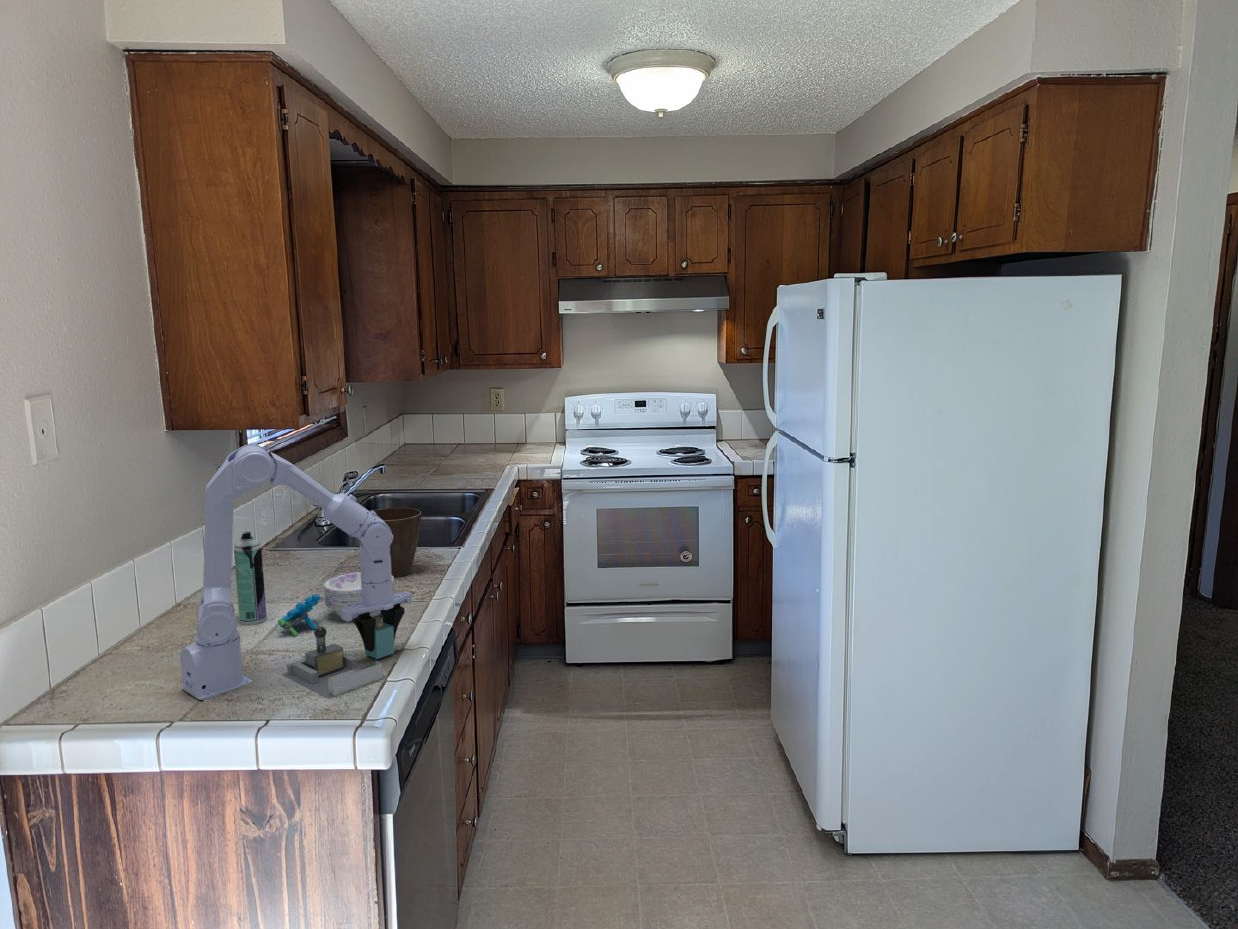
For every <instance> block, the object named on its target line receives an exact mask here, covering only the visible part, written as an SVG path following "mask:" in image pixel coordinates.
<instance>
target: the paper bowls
mask: <svg viewBox="0 0 1238 929" xmlns="http://www.w3.org/2000/svg"><path fill="white" fill-rule="evenodd" d="M323 588H324V589H323V592H324V593H323V594H324V595H323V596H324V605H325V606H326V607H327V608H328V609H330V610H334V612H335V613H336V616H338V617H340V618H341V619H342V613H341V610H342V609H345V608H348V607H350V606H352V605H354V604H356V603H358V602H360V601H362V592H361V571H358V572H349V573H345V574H341V575H336V576H334V577H331V578H329V579H328V580H326V581H325V582H324V584H323ZM392 594H396V582H395V577H393V576H392ZM380 615H381V612H380V611H377V612H374V613H370V616H371V617H372V618H375V617H377V616H380Z"/></svg>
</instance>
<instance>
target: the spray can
mask: <svg viewBox="0 0 1238 929" xmlns="http://www.w3.org/2000/svg"><path fill="white" fill-rule="evenodd" d="M262 552H263V550H262V544H261V541H260V540H257V539H256V538H255V537H254V536H253V535H252V533H251V531H244V532H242V534H241V537H240V538H239V540H237V542H235V543H234V544H233V556H234V569H235V570H234V571H235V579H236V582H235V583H236V593H237V594H236V595H237V605H238V606H237V607H238V615H239V616H238V619H239V623H240V624H241V625H243V626H254V625H259V624H262V623H265V622H267V604H266V603H267V602H266V592H265V577H264V563H263V553H262Z"/></svg>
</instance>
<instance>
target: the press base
mask: <svg viewBox="0 0 1238 929" xmlns="http://www.w3.org/2000/svg"><path fill="white" fill-rule="evenodd" d="M343 654H344V668H341V669H339V670H336V671H333V672H330V673H327V674H324V675H321V676H319V677H318V672H317V671H315V670H313V669H311V668H309V667H307V666H306V659H305V658H302V659H300V660H296V661H294V662H290V663H288V664H286V670H287V671H286V672H284V673H282V674H281V676H283V677H285V678H287V679H289V680H291V681H293V682H295V683H296V684H299V685H300V686H303V687H304V688H306V689H308V690H310V691H312V692H314V693H316V694H318V695H320V696H321V697H324V698H326V699H327V700H329V699H332V698H336V697H338V696H341V695H342V694H346V693H349V692H351V691H354V690H356V689H359V688H361V687H364V686H367V685H370V684H372V683H375V682H377V681H380V680H383V679H386V678H388V676H386V675H384V674H383V662H380V661H379V660H376V661H372V662H370V663H367V664H364V665H363V664H360V663H358V658H357V657H355V656H352V655H350V654H348V653H346V652H344V651H343Z"/></svg>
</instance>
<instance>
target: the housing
mask: <svg viewBox="0 0 1238 929" xmlns="http://www.w3.org/2000/svg"><path fill="white" fill-rule="evenodd" d="M364 654H365V655H367V656H369V657H372V658H373V659H376V660H378V659H381V658H385V657H387V656H390V655H393V654H395V640H394V628H393V626H392V625H389V624H386V623H384V622H383V620H382V621H379V620H378V621H376V624H375V630H374V651H368V650H366V649H365V648H364Z"/></svg>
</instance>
